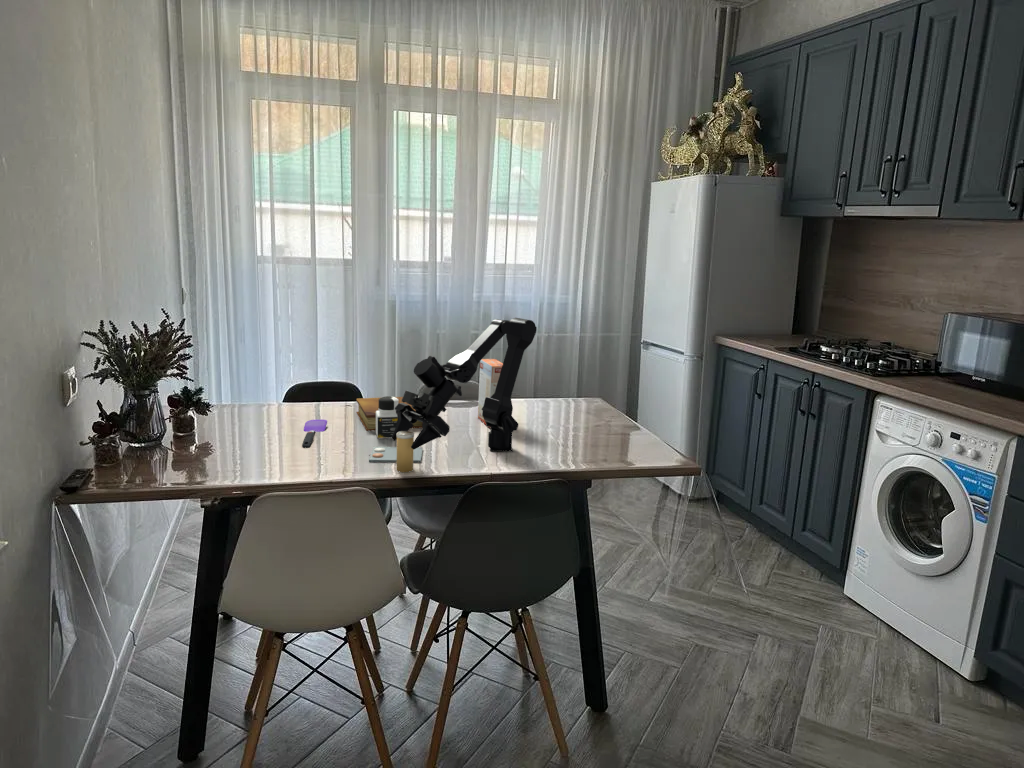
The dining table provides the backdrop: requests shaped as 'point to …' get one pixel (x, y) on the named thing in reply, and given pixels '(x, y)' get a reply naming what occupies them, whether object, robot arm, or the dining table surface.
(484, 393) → the cracker box
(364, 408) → the diary
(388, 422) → the medicine bottle
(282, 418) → the dining table surface
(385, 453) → the card
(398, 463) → the amber cup
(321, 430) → the spatula
